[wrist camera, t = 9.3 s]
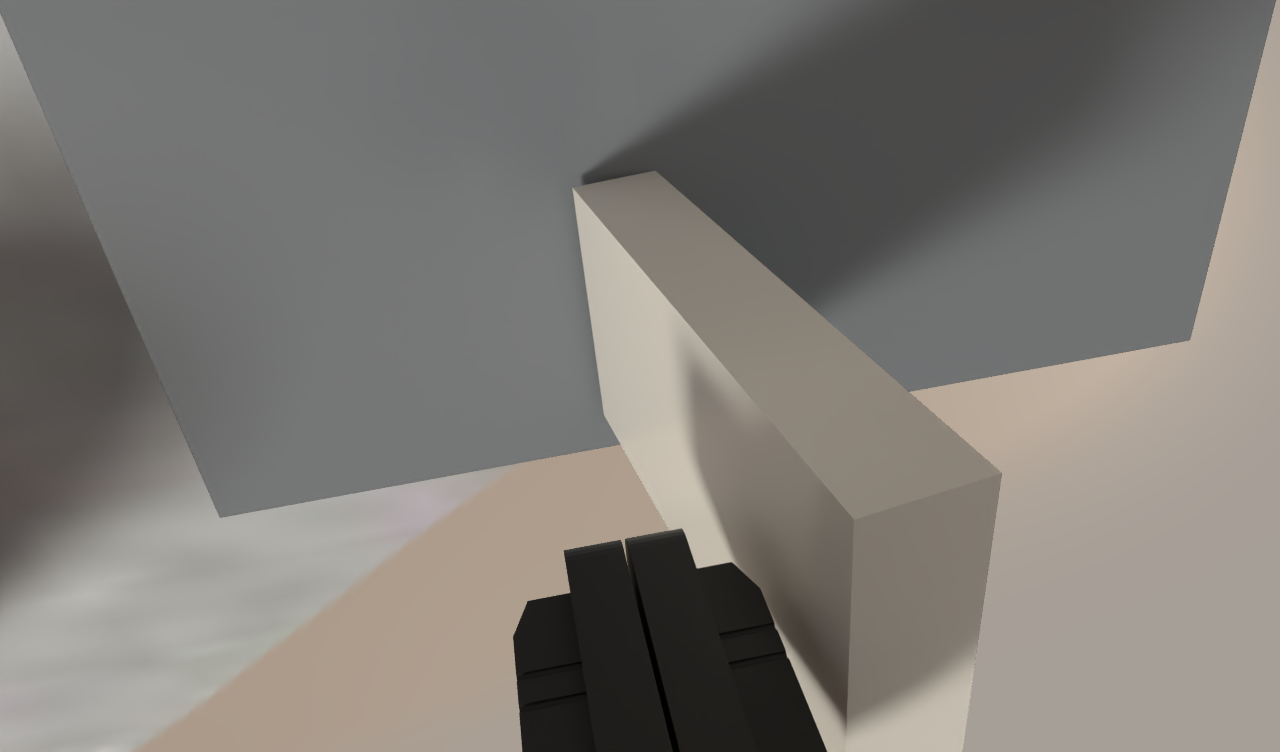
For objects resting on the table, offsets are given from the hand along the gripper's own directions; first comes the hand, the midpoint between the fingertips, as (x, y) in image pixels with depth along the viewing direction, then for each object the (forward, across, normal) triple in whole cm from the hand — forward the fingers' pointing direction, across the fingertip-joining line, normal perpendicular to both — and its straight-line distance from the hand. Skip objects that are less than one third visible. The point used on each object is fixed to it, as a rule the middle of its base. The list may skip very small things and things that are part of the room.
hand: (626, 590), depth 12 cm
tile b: (+8, -1, 0) cm, 8 cm away
